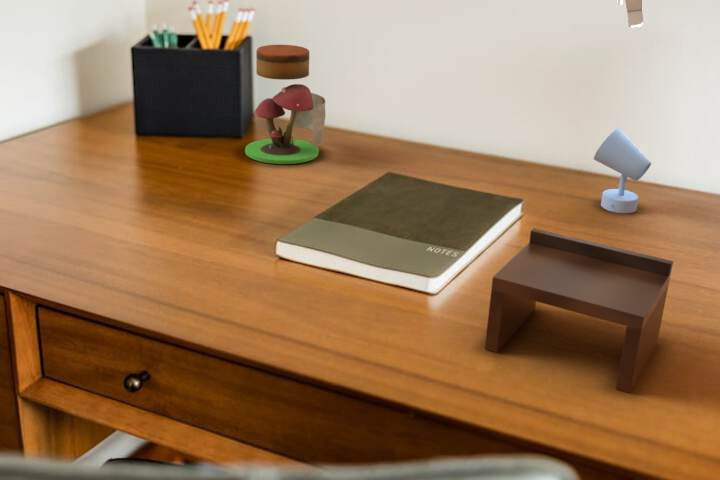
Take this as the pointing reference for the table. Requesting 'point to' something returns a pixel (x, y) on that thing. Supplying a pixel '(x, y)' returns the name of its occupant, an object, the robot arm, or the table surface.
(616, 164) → the spotlight
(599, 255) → the shelf
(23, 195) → the table surface
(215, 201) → the table surface
